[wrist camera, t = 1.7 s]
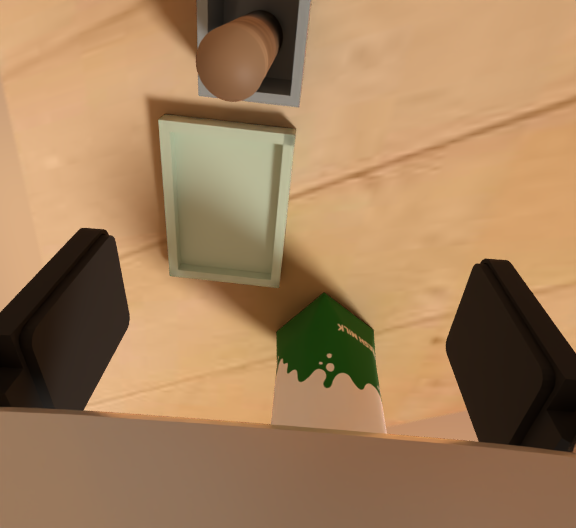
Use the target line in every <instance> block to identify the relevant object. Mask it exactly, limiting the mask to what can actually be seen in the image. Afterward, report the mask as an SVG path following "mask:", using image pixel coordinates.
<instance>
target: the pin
mask: <svg viewBox="0 0 576 528" xmlns="http://www.w3.org/2000/svg"><path fill="white" fill-rule="evenodd" d="M282 42H283V31H282V27H281V25H280V23H279V21H278V20H277V18H276V17H275V16H274V15H272V14H271V13H269V12H267V11H263V10H256V11H253V12H250V13H248V14H246V15H244V16H242V17H239V18H237V19H235V20H233V21H231V22H228V23H226V24H224V25H222V26H220V27H217V28H215V29H213V30H212V31H210V32H209V33H208V34H206V35H205V37H204V38H203V39H202V41H201V42H200V44H199V47H198V50H197V55H196V67H197V72H198V75H199V77H200V80H201V82H202V83H203V85H204V86H205V87H206V89H207V90H208V91H209V92H210V93H212V94H213V95H214V96H216V97H217V98H219V99H222V100H225V101H230V102H236V101H242V100H245V99H247V98H249V97H250V96H252V95H253V94H254V93H255V92H256V91H257V90H258V88H259V87H260V85H261V83H262V81H263V80H264V78H265V76H266V74H267V72H268V70H269V69H270V67H271V65H272V63H273V61H274V59H275V57H276V56H277V54H278V52H279V50H280V48H281V46H282Z"/></svg>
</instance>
